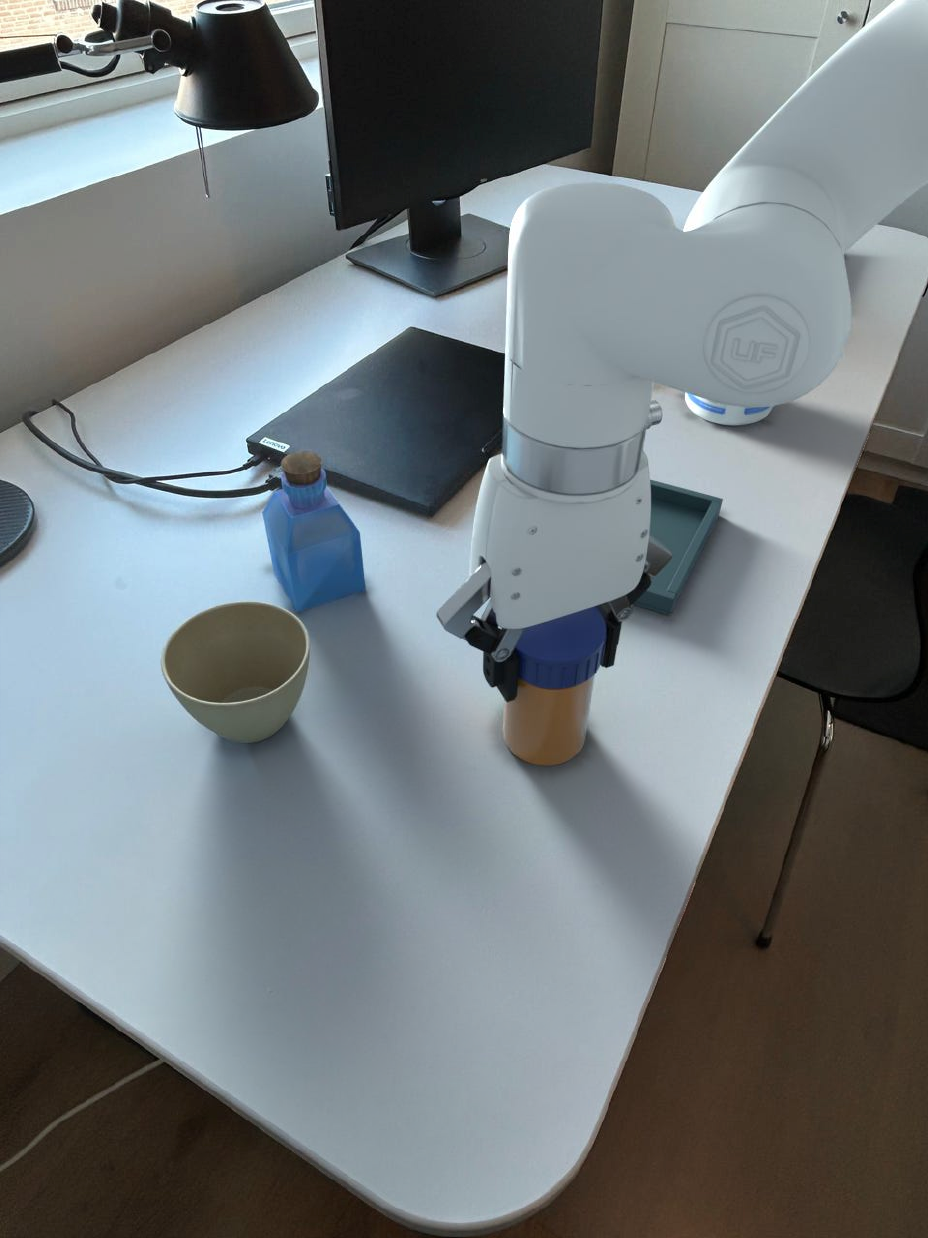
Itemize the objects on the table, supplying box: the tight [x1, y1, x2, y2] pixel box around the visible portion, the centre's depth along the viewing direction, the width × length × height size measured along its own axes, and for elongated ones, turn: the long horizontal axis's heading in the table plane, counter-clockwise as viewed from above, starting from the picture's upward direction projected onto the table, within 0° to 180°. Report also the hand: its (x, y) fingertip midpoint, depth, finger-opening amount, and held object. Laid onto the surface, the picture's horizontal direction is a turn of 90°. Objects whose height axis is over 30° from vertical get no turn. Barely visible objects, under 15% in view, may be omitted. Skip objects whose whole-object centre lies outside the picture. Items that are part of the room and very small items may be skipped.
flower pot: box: [160, 600, 311, 744], centre depth 63 cm, size 10×10×7 cm
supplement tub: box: [684, 392, 774, 426], centre depth 92 cm, size 10×10×15 cm
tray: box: [633, 478, 724, 617], centre depth 79 cm, size 16×14×2 cm
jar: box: [502, 674, 596, 767], centre depth 60 cm, size 6×6×10 cm
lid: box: [500, 606, 607, 689], centre depth 57 cm, size 7×7×2 cm
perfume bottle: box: [262, 450, 367, 613], centre depth 72 cm, size 6×6×12 cm
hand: (550, 668), depth 59 cm, fingers closed on lid, 6 cm apart
